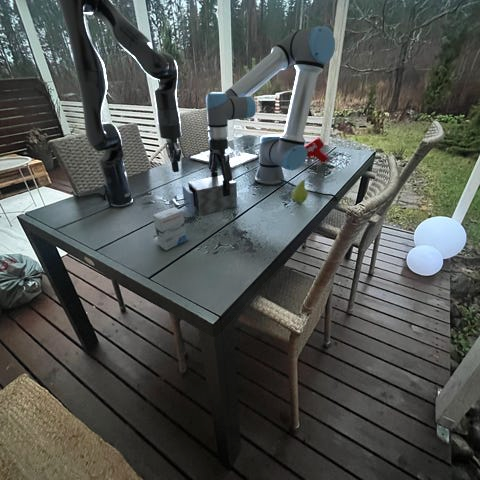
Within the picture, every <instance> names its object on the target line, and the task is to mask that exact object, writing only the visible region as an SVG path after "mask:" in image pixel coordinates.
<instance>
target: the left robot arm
mask: <svg viewBox="0 0 480 480" xmlns="http://www.w3.org/2000/svg"><path fill="white" fill-rule="evenodd" d="M58 4H59V8H60V12H61V14H62V18H63V22H64V25H65V28H66V33H67V36H68V41H69V45H70V49H71V54H72V58H73V65H74V70H75V75H76V80H77V84H78V88H79V94H80V97H81V98H80V99H81V104H82V112H83V121H84V130H85V137H86V140H87V142H88V145H89V146H90V147H91V148H92V150H94V151H96V152H103V153H102V155H101V157H99V159H98V164H99V168H100V171H101V174H102V178H103V181H104V184H103V189H104V193H102V192H93V193H89V194H85V195H77V194H76V193H75V191H74V190H71V192H70V193H71V194H72V195H73V196H74V197H75V198H86V197H91V196H96V195H97V196H98V195H101V196H102V197H103V200H107V203H108V206H111V207H113V208H126V207H128V206H130V205H133V203H134V199H133V196H132V191H131V186H130V183H129V179H128V175H127V171H126V167H125V163H124V159H125V154H124V153H125V152H124V148H123V143H122V138H121V134H120V132H119V130H118V128H117V127H116V126H115V124H113V123H110V122H103V119H102V118H103V116H102V110H103V106H104V103H105V99H106V97H107V96H106V95H107V90H108V80H107V74H106V72H107V71H106V67H105V62H104V61H103V58H102V56H101V55H100V53H99V51H98V50H97V48H96V46H95V44H94V43H93V40H92V39H91V36H90V35H89V32H88V29H87V23H86V17H85V15H92V16H93V17H95V18H97V19H98V20H100V21H101V22H102V23H103V24H105V26H107V28H108V29H109V30H110V32H111V35H112V37H113V38H114V39H115V41H116V42H117V43H118V44H119V45H120V46H121V47H122V48H123V49H124V50H125V51H126V52H127V53H128V54H129V55H131V56H132V57H133V58H134V59H135V60H136V62H137V63H138V64H139V66H140V68H141V69H142V70H143V71H144V73H146V74H147V75H148V76H149V77H150V78H152V79H154V80H159V81H158V82H159V83H158V87H157V88H156V89H155V90H154V93H153V95H154V102H155V108H156V120H157V126H158V131H159V137H160V138H161V139H164V140H165V142H164V147H165V151H166V154H167V157H168V159H169V161H170V164H171V170H172V172H173V173H179V172H180V166H179V162H181V156H182V149H180V143H179V142H178V138H179V139H180V138H181V137H182V135H183V134H182V126H181V118H180V112H179V107H178V106H179V105H178V99H177V98H178V97H177V87H178V75H179V72H178V65H177V61H176V60H175V58H174V57H173V55H171V54H170V53H168V52H157V51H156V50H154V49H153V47H152V42H151V41H150V39H149V37H148V36H146V35H145V34H144V33H143V32H141V31H140V29H138V28H137V27H136V26H135V25H134V24H133V23H132V22H130V20H129V19H127V18H126V17H125V16H124V15H123V14H122V13H121V12H120V11H119V9H117V7H116V6H115V5H114V4H113V3H112V1H111V0H58Z"/></svg>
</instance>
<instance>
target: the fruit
mask: <svg viewBox="0 0 480 480" xmlns="http://www.w3.org/2000/svg"><path fill="white" fill-rule="evenodd" d="M310 177H311V175H310V174H309V175H308V176H307V177H305V179H302V180H301V181H300V182H298V184H297V185H296V186H297V187H294V188H293V190H292V191H291V198H292V200H293V201H294V202H295V203H297V204H301V203H304V202H305V201H306V200H307V198H308V196H309V195H308V193H309V192H307V190H308V189H307V188H306V184H305V183H306V180H308V179H309V178H310ZM306 189H307V190H306Z"/></svg>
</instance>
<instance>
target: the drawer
mask: <svg viewBox="0 0 480 480" xmlns="http://www.w3.org/2000/svg"><path fill="white" fill-rule="evenodd" d="M181 187H182V197H181V198H176V199H175V198H172V199H171V201H170V202H171V203H172V204H173V206H174V207H175V208H177V209H179V207H182V206H184V207H185V208H186V209H187V211H188V212H189V213H190V214H191V215H196V213H197V212H199V208H198V199H197V191H196V190H195V189H193V188H192V187H191V186H190V185H189V186H186V184H182V185H181ZM179 201H180V202H181V201H183V203H178V202H179ZM195 209H196V211H197V212H196V211H195Z"/></svg>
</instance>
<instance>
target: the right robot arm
mask: <svg viewBox="0 0 480 480" xmlns="http://www.w3.org/2000/svg"><path fill="white" fill-rule="evenodd" d="M335 50H336V38H335V36H334V32H333V31H332V30H331V28H329V27H328V26H323V25H322V26H321V25H320V26H319V25H316V26H314V27H306V28H300V29H296V30H294V31H292V32H291V33H289V34H288V35H287V36H285V37H284V38H282V39H281V41H279V42H278V43H277V44H276V45H274V46H273V47H272V48H271V51H270V53H269V54H268V55H267V56H265V57H264V58H263V59H262V60H260V62H258V63H257V64H256V65H255V66H254V67H253V68H252V69H250V70H249V71H248V72H247V73H246V74H245V75H243V76H242V77H241V78H240V79H239V80H237V81H236V82H235V83H234V84H233V85H232V86H231V87H230V88H228V89H227V90H225V91H224V92H223V91H211V92H208V93H207V94H206V96H205V108H206V118H207V119H206V120H207V129H206V132H207V133H208V148H209V149H208V151H210V156H209V163H208V170H210V174H211V175H210V177H215V176H219V173H218V168H220V171H221V175H222V176H223V179H224V180H223V181H222V182H223V196H224V197H225V196H230V181H232V180H234V179H233V174H232V168H231V167H230V160H229V155H226V154H225V149H227V148H228V146H229V139H228V137H229V126H228V125H229V124H228V123H229V121H233V120H244V119H245V120H247V119H251V118H254V116H255V115H256V114H257V113H256V112H257V103H256V100H255V99H254V97H252V95H253V94H254V93H255V92H256V91H258V90H260V88H261V87H262V86H264V85H265V84H266V83H268V82H269V80H271V79H272V78H273V77H274V76H275V75H277V74H278V73H279V72H280V71H285V70H286V69H287V68H289V67H291V66H292V65H294V68H295V70H296V75H295V80H294V85H293V88H292V95H291V98H290V104H289V107H288V113H287V118H286V123H285V127H284V130H283V131H284V132H283V133H282V134H279V133H278V134H266V135H262V136H260V139H259V143H258V145H259V153H258V157H259V158H258V167H257V171H256V174H255V177H254V181H255V183H258V184H259V185H262V186H263V185H264V186H279V185H281V184H283V183H285V184H287V185H290V186H291V187H294V188H296V187H297V186H298V185H296V184H294V183H291V182H289V181H287V180H285V175H284V172H283V171H284V170H288V171H296V170H298V169H300V168H301V167H302V166H303V165H304V164H305V162H306V161H307V158H308V157H307V151H306V148H305V147H304V146H305V144H306V140H305V137H304V133H305V129H306V126H307V122H308V118H309V114H310V109H311V105H312V101H313V97H314V93H315V89H316V85H317V82H318V81H317V80H318V78H319V77H318V76H319V74H321V73H322V72H323V71H324V69H325V64H327V63H329V62H330V61H331V60H332V58H333V56H334V53H335ZM283 169H284V170H283ZM305 189H306V190H307V192H308V193H312V194H317V195H322V196H327V197H333V198H334V199H335V200H337V201H338V200H339V198H338V197H337V196H336V195H335V194H333V193H325V192H320V191H315V190H311V189H307V188H305ZM323 193H324V194H323Z"/></svg>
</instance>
